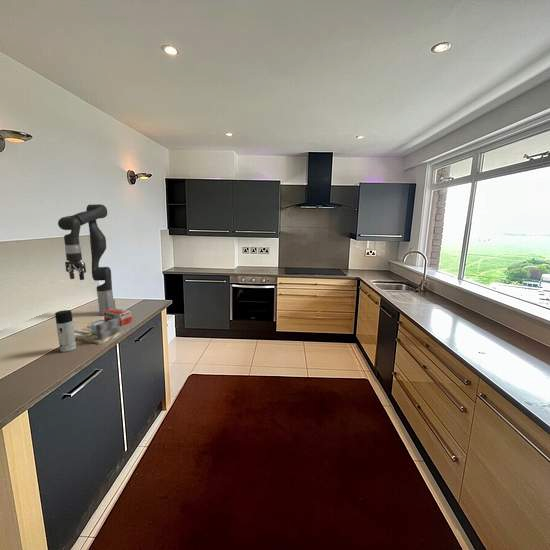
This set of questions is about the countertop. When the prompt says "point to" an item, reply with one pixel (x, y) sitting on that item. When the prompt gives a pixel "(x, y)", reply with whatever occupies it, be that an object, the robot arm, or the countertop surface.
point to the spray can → (65, 330)
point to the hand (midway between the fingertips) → (77, 279)
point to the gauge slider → (94, 327)
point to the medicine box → (118, 315)
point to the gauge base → (100, 332)
